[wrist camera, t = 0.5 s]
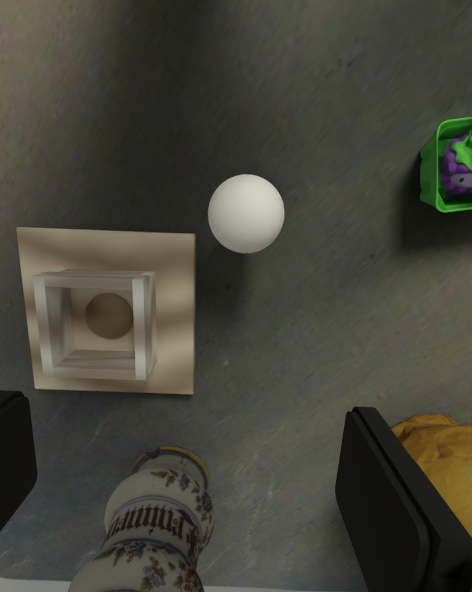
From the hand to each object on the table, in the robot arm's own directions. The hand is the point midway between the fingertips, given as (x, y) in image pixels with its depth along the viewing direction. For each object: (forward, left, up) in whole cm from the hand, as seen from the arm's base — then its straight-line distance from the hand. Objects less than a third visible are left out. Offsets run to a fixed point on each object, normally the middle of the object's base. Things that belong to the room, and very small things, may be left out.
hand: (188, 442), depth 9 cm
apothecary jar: (+26, -6, -27) cm, 38 cm away
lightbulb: (-7, +2, -27) cm, 28 cm away
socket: (+4, -12, -26) cm, 29 cm away
